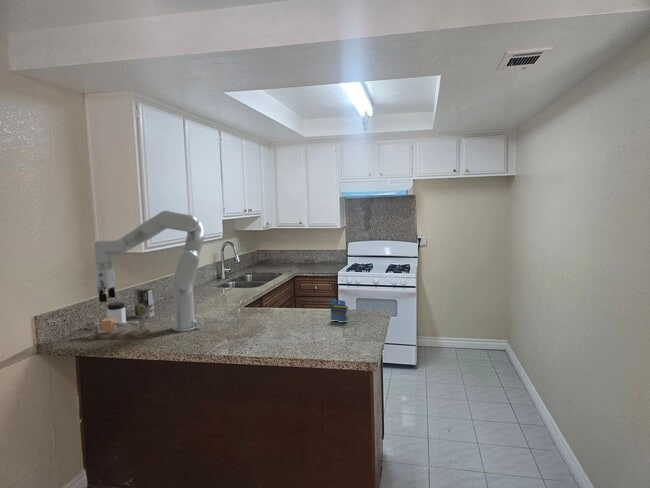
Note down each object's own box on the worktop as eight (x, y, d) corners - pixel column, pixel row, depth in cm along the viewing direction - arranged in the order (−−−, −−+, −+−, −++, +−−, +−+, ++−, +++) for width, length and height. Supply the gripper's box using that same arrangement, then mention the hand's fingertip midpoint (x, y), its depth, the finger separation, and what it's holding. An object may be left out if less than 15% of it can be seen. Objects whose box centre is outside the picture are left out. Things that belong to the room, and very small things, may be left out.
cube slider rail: (149, 331, 217) (148, 315, 216) (142, 337, 207) (141, 321, 206) (94, 333, 215) (93, 317, 215) (84, 340, 205) (83, 323, 205)
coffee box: (155, 315, 252) (153, 288, 250) (149, 318, 245) (148, 290, 244) (140, 315, 253) (139, 288, 251) (134, 317, 246) (133, 290, 245)
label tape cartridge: (348, 321, 229) (348, 299, 228) (345, 323, 226) (345, 300, 225) (333, 320, 233) (333, 298, 232) (330, 321, 229) (330, 299, 228)
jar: (105, 325, 230) (103, 304, 229) (118, 322, 237) (117, 301, 236) (115, 327, 226) (114, 306, 225) (129, 324, 233) (127, 302, 232)
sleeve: (116, 327, 213) (115, 318, 213) (111, 330, 208) (111, 320, 208) (105, 328, 213) (105, 318, 212) (101, 331, 208) (100, 321, 208)
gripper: (104, 267, 199) (107, 303, 201) (119, 262, 217) (122, 295, 218) (88, 268, 199) (91, 304, 201) (104, 263, 216) (107, 296, 218)
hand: (107, 299), depth 209 cm, fingers open, 9 cm apart
